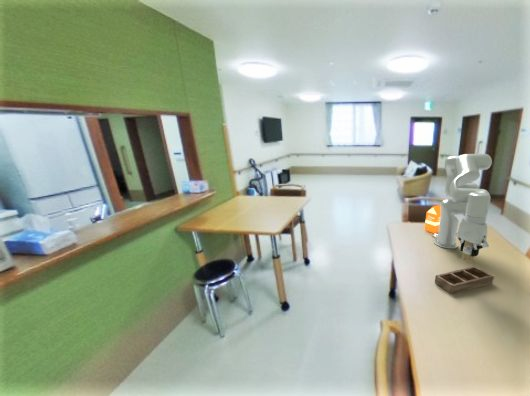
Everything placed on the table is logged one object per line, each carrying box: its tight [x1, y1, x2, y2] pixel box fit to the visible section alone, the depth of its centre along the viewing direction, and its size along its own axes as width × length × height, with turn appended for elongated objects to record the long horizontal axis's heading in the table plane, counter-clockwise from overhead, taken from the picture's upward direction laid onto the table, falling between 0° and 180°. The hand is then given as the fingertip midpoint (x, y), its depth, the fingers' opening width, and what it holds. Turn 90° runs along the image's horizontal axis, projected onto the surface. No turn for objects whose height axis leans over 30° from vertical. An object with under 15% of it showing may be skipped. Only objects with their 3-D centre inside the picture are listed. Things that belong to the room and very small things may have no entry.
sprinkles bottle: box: [461, 241, 475, 262], centre depth 111 cm, size 5×5×14 cm
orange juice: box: [424, 204, 441, 234], centre depth 173 cm, size 8×9×20 cm
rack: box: [434, 265, 495, 295], centre depth 117 cm, size 9×25×4 cm, turn 103°
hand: (468, 253), depth 112 cm, fingers closed on sprinkles bottle, 4 cm apart
